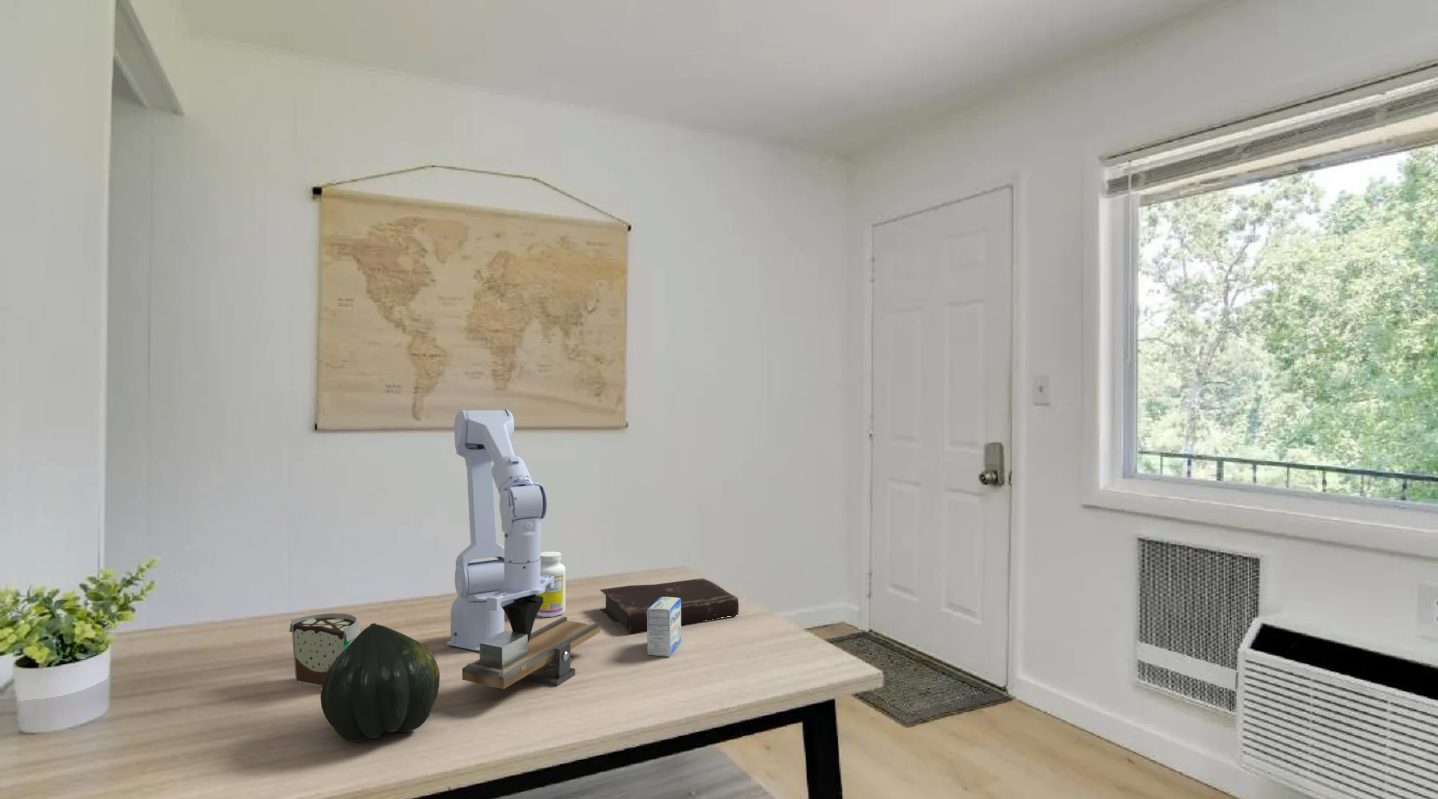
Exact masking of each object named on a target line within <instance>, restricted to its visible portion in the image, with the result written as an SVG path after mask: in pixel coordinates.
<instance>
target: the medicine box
mask: <svg viewBox="0 0 1438 799" xmlns="http://www.w3.org/2000/svg"><path fill="white" fill-rule="evenodd" d="M646 634H647V635H646V638H647V640H646V642H647V645H646V647H647V655H648V656H653V657H655V656H656V657H668V658H670V657H671V656H672V654H673V653H674V652H675V651H676V648H678V647H679V645H680V643H681V640H682V626H681V599H680V598H675V597H660V598H659V599H658V600H657V601H656V602H655V603H654V604H653V605H652V606H651V607H650V608H649V609H648V610H647V631H646Z"/></svg>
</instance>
